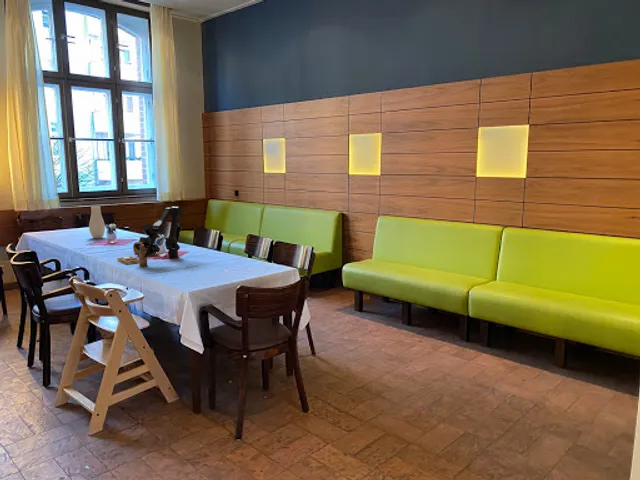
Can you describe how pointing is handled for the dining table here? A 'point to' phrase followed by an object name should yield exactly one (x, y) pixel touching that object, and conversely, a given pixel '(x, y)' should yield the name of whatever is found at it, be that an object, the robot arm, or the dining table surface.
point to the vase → (96, 223)
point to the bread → (137, 250)
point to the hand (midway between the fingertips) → (141, 257)
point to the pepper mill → (142, 257)
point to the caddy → (128, 260)
